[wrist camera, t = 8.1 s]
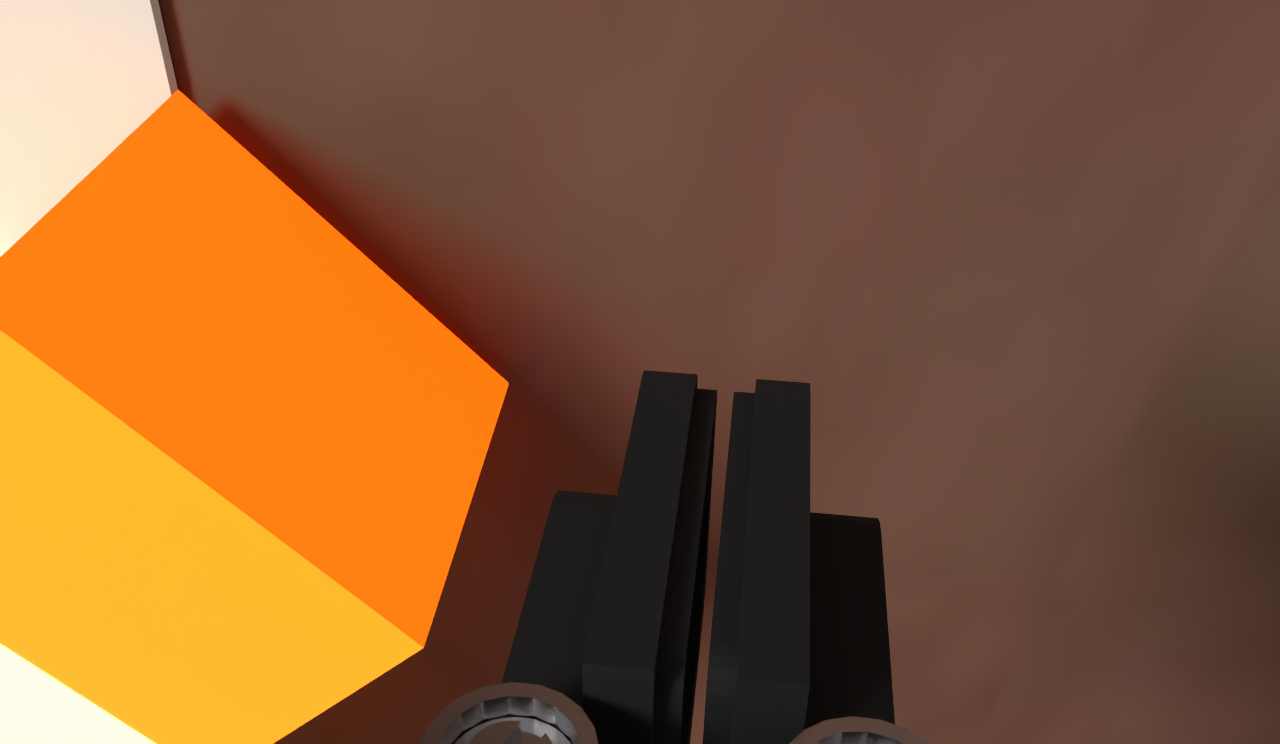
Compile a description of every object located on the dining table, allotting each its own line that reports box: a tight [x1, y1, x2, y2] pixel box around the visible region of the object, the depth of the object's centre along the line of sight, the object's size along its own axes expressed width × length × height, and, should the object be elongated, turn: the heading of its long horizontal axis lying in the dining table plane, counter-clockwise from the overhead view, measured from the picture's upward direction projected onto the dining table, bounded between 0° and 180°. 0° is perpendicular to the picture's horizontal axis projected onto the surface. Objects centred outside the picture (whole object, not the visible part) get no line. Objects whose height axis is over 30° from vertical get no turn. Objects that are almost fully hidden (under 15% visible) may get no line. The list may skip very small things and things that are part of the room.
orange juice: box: [0, 90, 509, 744], centre depth 26 cm, size 8×9×20 cm
